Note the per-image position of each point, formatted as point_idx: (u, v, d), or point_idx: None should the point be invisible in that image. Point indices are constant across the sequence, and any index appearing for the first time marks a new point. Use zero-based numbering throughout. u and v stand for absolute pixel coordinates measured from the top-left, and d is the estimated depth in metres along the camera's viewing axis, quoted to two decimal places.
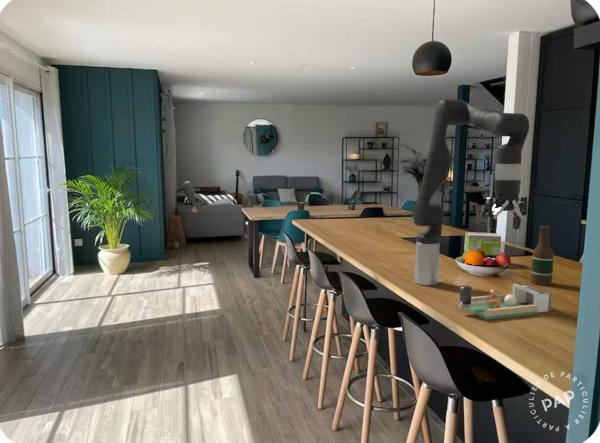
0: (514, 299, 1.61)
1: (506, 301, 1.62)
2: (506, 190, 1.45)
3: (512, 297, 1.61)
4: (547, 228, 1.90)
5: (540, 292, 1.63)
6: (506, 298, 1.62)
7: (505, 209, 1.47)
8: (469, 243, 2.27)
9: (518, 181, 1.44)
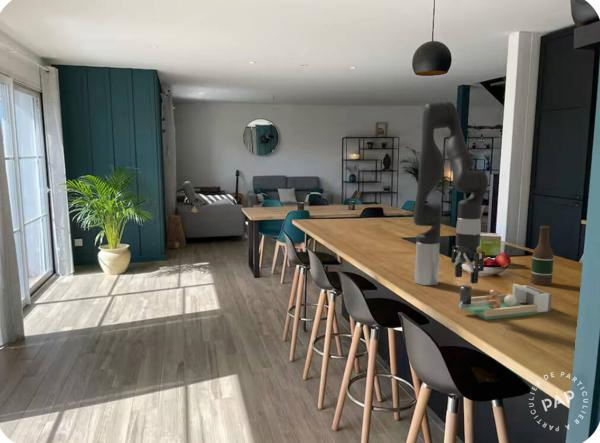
0: (514, 299, 1.61)
1: (506, 301, 1.62)
2: (479, 243, 1.53)
3: (512, 297, 1.61)
4: (547, 228, 1.90)
5: (540, 292, 1.63)
6: (506, 298, 1.62)
7: None
8: None
9: None
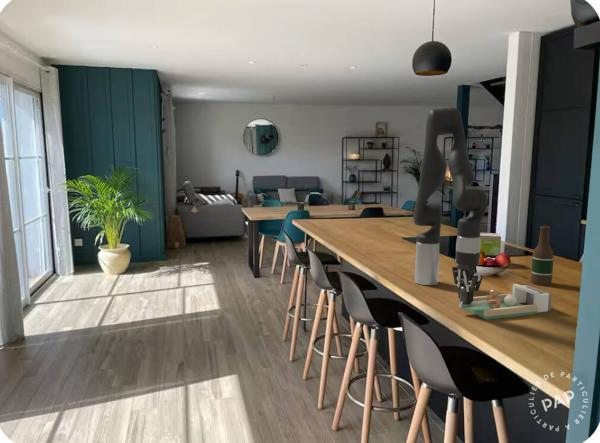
0: (514, 299, 1.61)
1: (506, 301, 1.62)
2: (479, 261, 1.54)
3: (512, 297, 1.61)
4: (547, 228, 1.90)
5: (540, 292, 1.63)
6: (506, 298, 1.62)
7: None
8: None
9: None
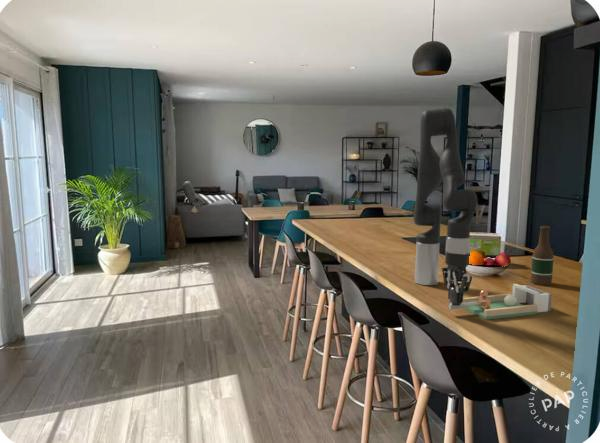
0: (514, 299, 1.61)
1: (506, 301, 1.62)
2: None
3: (512, 297, 1.61)
4: (547, 228, 1.90)
5: (540, 292, 1.63)
6: (506, 298, 1.62)
7: None
8: None
9: None
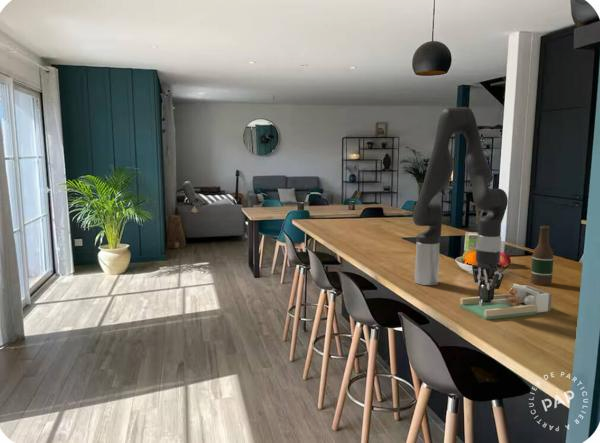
0: None
1: None
2: (499, 260, 1.56)
3: None
4: (547, 228, 1.90)
5: (540, 292, 1.63)
6: None
7: None
8: (469, 243, 2.27)
9: None
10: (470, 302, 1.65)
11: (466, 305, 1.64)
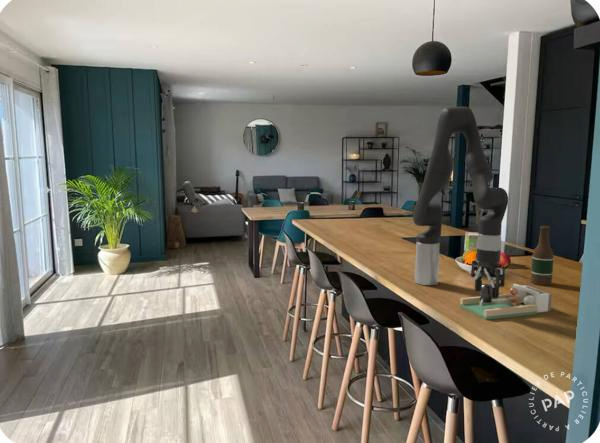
0: None
1: None
2: None
3: None
4: (547, 228, 1.90)
5: (540, 292, 1.63)
6: None
7: None
8: (469, 243, 2.27)
9: None
10: (470, 302, 1.65)
11: (466, 305, 1.64)
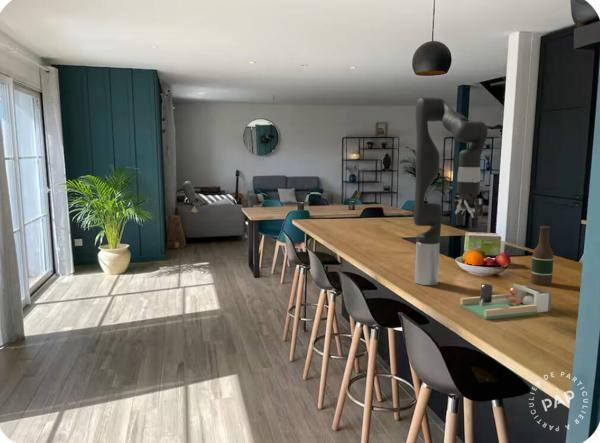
0: None
1: None
2: (479, 191, 1.62)
3: None
4: (547, 228, 1.90)
5: (540, 292, 1.63)
6: None
7: None
8: (469, 243, 2.27)
9: None
10: (470, 302, 1.65)
11: (466, 305, 1.64)
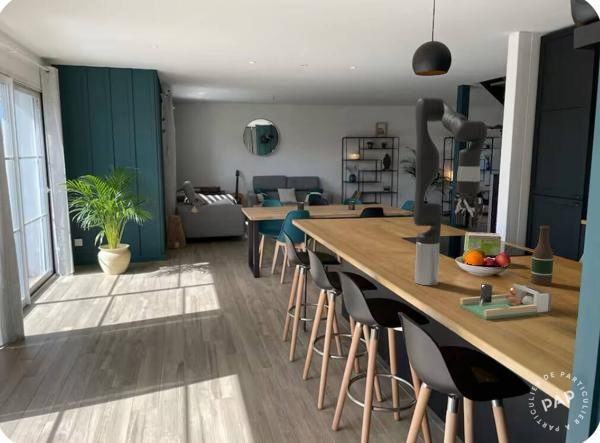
0: None
1: None
2: None
3: None
4: (547, 228, 1.90)
5: (540, 292, 1.63)
6: None
7: None
8: (469, 243, 2.27)
9: None
10: (470, 302, 1.65)
11: (466, 305, 1.64)
